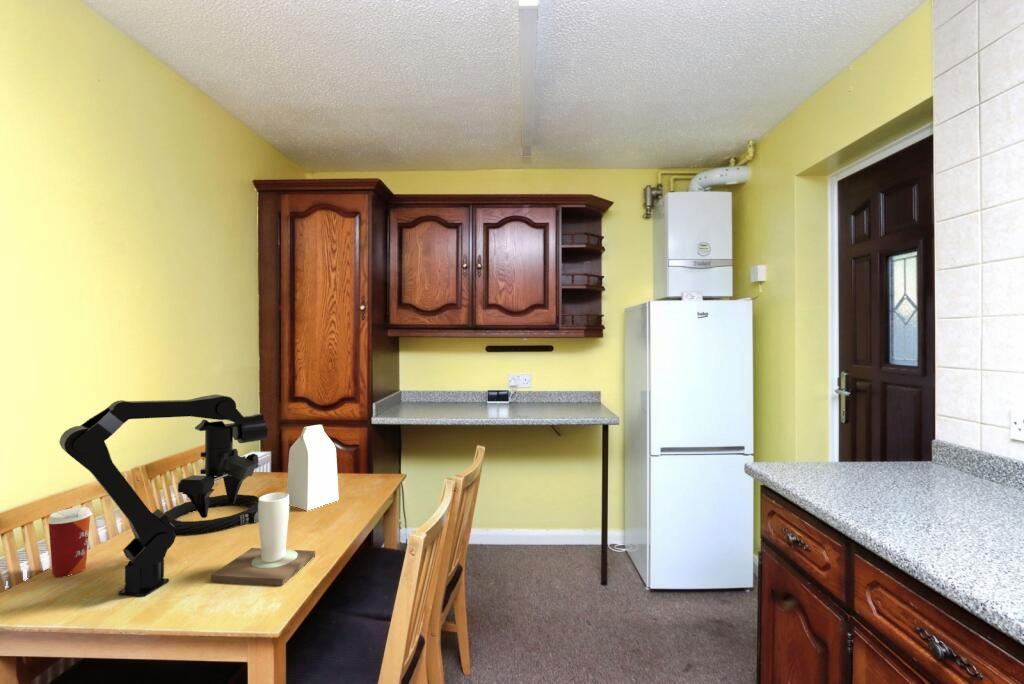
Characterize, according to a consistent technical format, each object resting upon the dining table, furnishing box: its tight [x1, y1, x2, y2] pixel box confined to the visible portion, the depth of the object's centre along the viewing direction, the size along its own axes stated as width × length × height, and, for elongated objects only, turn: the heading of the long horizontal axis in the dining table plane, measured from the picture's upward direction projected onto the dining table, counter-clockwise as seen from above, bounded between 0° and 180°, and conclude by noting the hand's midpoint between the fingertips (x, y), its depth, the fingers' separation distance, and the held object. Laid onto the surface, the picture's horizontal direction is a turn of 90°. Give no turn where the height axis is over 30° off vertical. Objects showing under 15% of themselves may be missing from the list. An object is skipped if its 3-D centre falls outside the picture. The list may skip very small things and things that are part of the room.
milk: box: [286, 424, 340, 512], centre depth 156 cm, size 12×12×26 cm
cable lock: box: [163, 493, 260, 535], centre depth 142 cm, size 28×4×30 cm
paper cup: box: [46, 506, 93, 578], centre depth 109 cm, size 8×8×14 cm
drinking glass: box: [258, 492, 290, 563], centre depth 112 cm, size 7×7×15 cm
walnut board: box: [210, 547, 316, 586], centre depth 110 cm, size 14×17×2 cm
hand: (218, 510), depth 113 cm, fingers open, 9 cm apart
